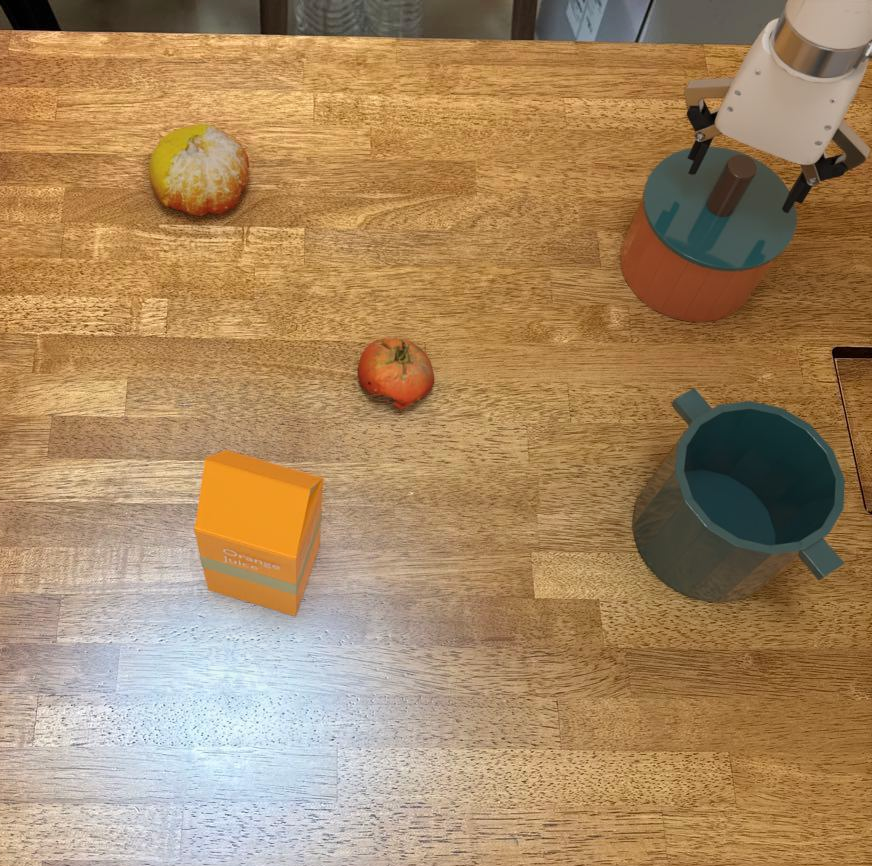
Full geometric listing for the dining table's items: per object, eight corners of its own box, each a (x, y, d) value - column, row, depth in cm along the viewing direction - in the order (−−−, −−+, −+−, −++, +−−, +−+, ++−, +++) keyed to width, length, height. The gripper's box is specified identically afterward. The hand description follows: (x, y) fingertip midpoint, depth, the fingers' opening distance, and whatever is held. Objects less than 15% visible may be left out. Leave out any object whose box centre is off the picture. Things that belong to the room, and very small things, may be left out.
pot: (698, 421, 105) (748, 354, 93) (830, 578, 98) (901, 526, 87) (585, 487, 101) (623, 425, 90) (715, 653, 95) (773, 609, 83)
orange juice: (296, 618, 95) (296, 533, 76) (206, 590, 96) (185, 500, 77) (320, 544, 98) (326, 445, 79) (233, 518, 99) (219, 415, 80)
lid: (724, 134, 109) (750, 83, 103) (823, 235, 104) (856, 189, 98) (610, 191, 105) (629, 142, 99) (706, 299, 100) (733, 255, 94)
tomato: (453, 396, 103) (411, 370, 98) (402, 434, 106) (358, 411, 101) (429, 339, 107) (387, 311, 102) (380, 378, 110) (337, 352, 105)
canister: (696, 192, 116) (727, 132, 108) (783, 285, 112) (822, 230, 103) (592, 245, 113) (616, 188, 105) (678, 344, 108) (709, 292, 100)
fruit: (182, 242, 111) (162, 177, 104) (145, 198, 117) (124, 134, 110) (272, 201, 113) (258, 135, 107) (231, 160, 119) (216, 95, 113)
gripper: (935, 44, 84) (838, 191, 100) (737, -27, 87) (673, 126, 103) (910, 104, 82) (814, 244, 97) (707, 27, 85) (646, 176, 100)
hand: (742, 183), depth 100 cm, fingers open, 9 cm apart
